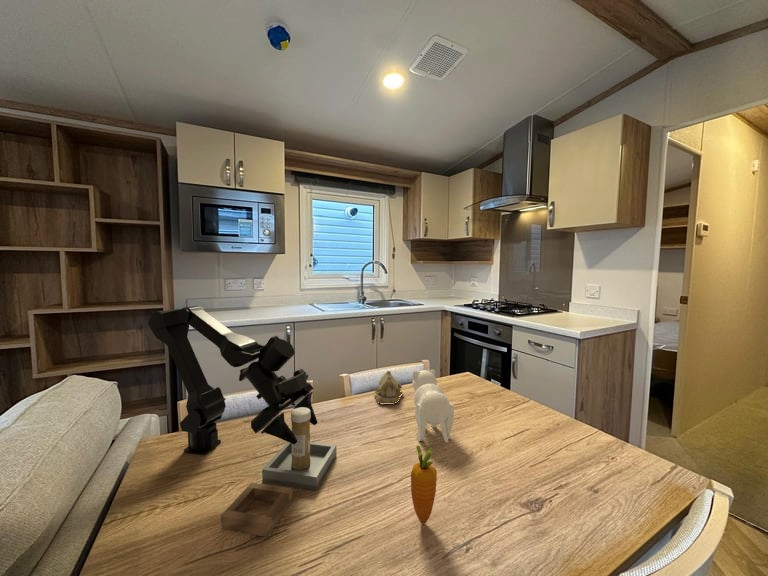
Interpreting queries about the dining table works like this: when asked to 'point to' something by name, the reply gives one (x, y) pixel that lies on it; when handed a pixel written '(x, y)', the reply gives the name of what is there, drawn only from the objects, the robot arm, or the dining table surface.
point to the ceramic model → (388, 389)
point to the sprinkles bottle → (301, 438)
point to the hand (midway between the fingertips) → (306, 433)
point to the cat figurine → (431, 404)
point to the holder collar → (255, 523)
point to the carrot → (423, 486)
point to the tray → (306, 478)
